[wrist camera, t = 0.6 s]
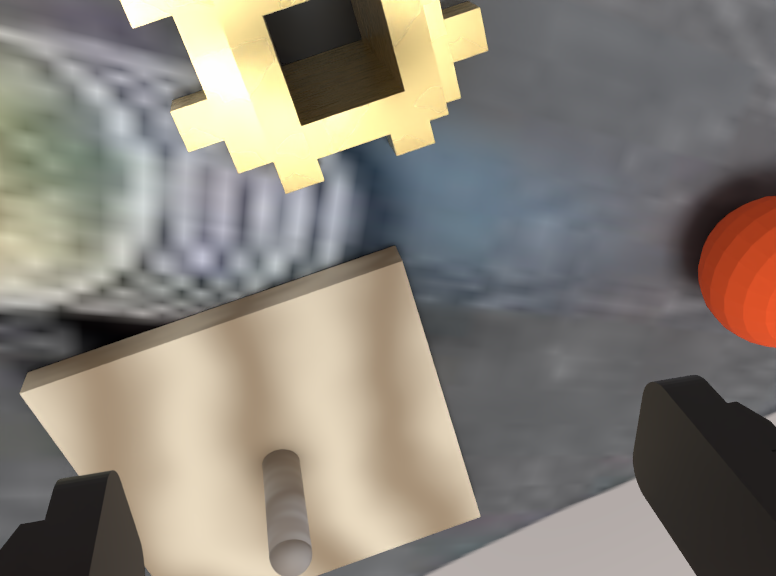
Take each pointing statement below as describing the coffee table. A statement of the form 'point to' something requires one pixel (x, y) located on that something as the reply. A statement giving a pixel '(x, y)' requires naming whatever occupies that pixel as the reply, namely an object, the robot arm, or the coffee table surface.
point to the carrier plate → (270, 427)
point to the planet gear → (315, 80)
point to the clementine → (743, 271)
